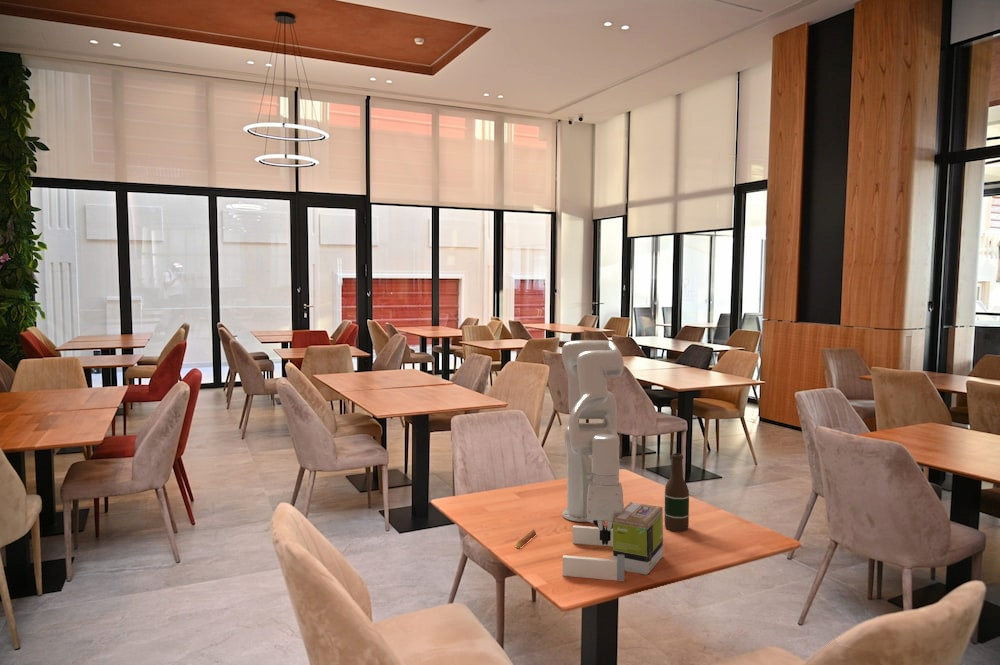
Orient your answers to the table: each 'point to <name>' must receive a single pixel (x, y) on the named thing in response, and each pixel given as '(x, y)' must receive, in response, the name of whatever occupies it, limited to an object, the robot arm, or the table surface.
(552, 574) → the table surface
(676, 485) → the beer bottle
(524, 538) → the chocolate bar
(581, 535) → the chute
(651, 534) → the tea box
